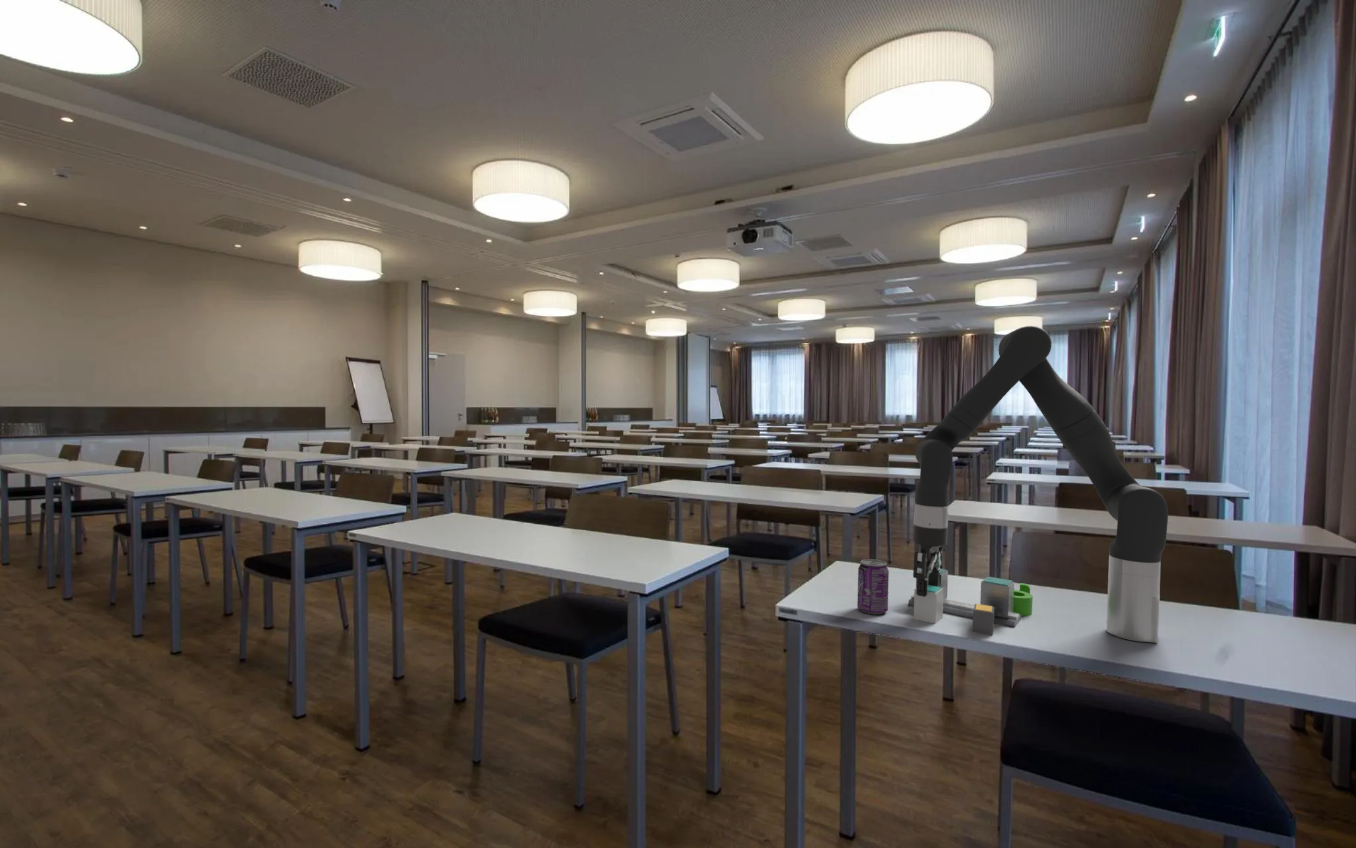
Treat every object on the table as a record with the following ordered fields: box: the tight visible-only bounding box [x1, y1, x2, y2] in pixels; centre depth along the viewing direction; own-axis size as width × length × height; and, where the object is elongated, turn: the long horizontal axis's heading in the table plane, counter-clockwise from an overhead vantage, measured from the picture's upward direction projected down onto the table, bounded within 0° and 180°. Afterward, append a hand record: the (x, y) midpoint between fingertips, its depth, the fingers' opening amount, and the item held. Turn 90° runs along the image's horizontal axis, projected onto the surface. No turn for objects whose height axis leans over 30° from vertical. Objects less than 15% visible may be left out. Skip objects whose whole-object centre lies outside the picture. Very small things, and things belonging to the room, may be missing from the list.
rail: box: [908, 568, 1022, 628], centre depth 152 cm, size 24×7×9 cm, turn 51°
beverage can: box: [856, 558, 890, 615], centre depth 152 cm, size 7×7×12 cm
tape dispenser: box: [1013, 582, 1034, 617], centre depth 157 cm, size 15×7×5 cm, turn 152°
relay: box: [972, 603, 995, 636], centre depth 140 cm, size 4×5×5 cm
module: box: [913, 585, 944, 624], centre depth 147 cm, size 5×6×7 cm
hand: (927, 591), depth 147 cm, fingers open, 8 cm apart
